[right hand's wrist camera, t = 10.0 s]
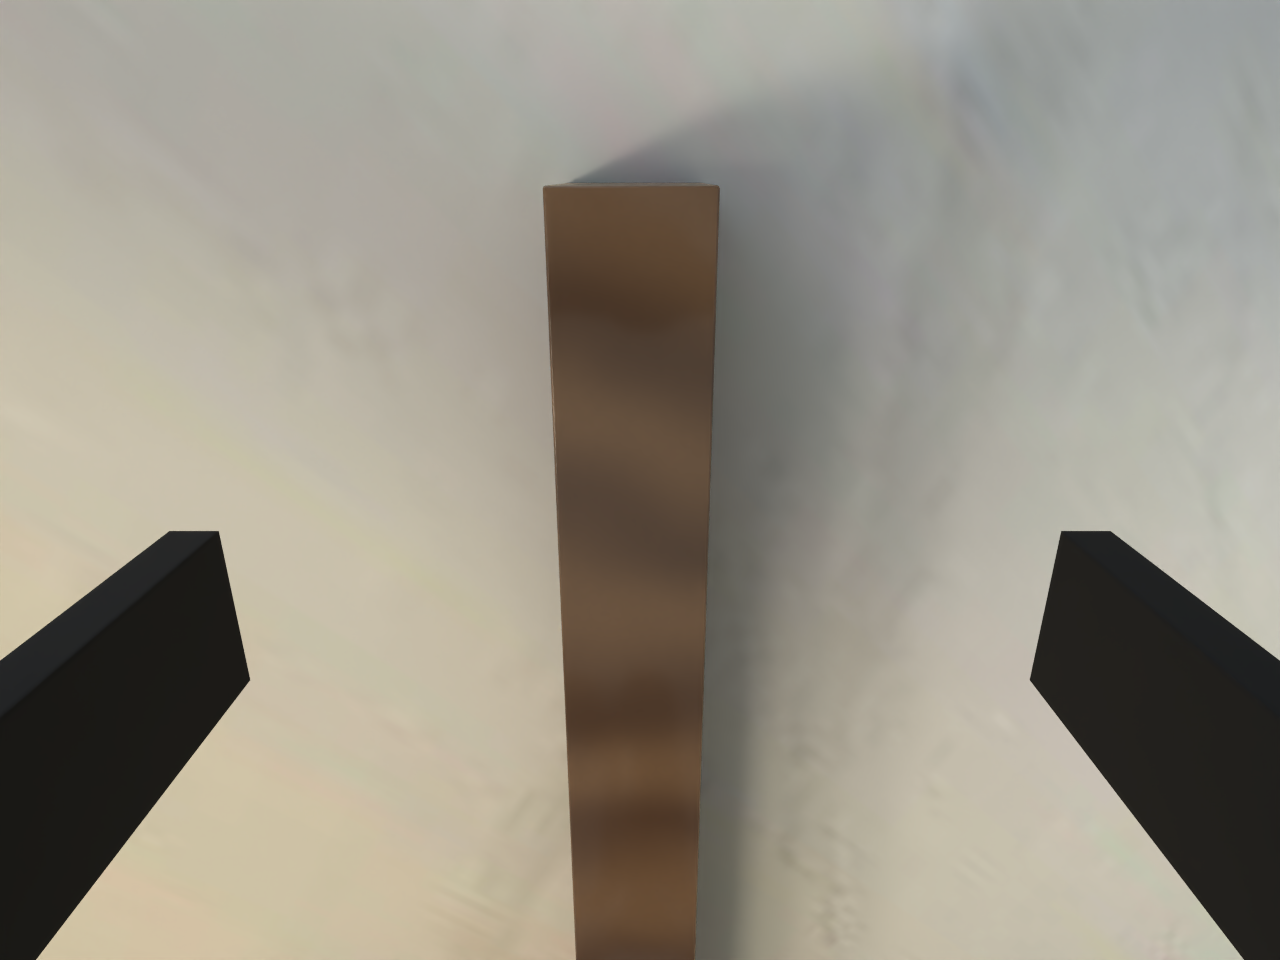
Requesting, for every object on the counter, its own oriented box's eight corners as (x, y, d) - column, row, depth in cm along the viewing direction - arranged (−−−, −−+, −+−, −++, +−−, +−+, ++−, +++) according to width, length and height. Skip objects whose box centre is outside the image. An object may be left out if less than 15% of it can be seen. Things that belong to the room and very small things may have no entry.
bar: (566, 183, 29) (542, 186, 22) (702, 182, 29) (720, 185, 22) (600, 1195, 51) (592, 1353, 44) (677, 1196, 51) (682, 1354, 44)
